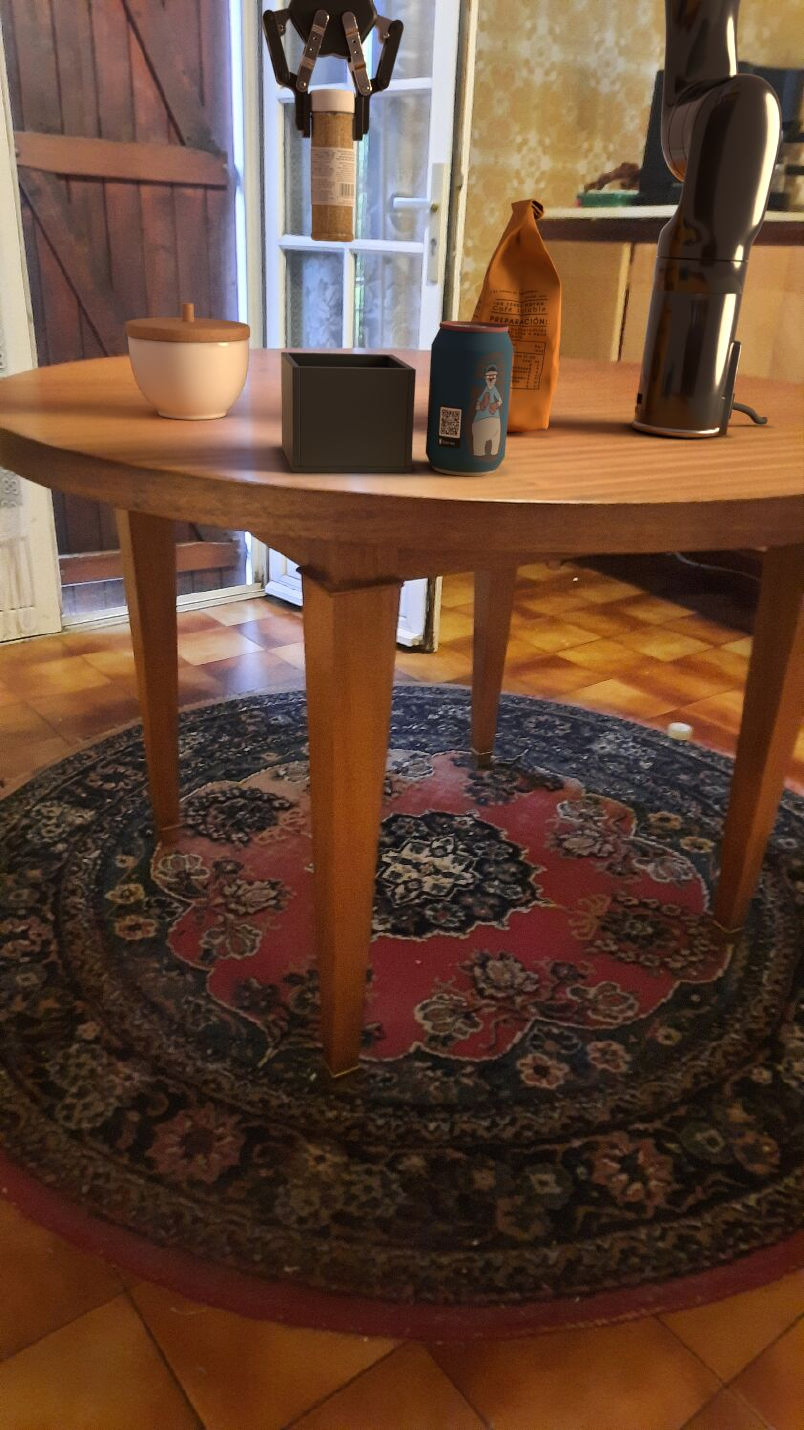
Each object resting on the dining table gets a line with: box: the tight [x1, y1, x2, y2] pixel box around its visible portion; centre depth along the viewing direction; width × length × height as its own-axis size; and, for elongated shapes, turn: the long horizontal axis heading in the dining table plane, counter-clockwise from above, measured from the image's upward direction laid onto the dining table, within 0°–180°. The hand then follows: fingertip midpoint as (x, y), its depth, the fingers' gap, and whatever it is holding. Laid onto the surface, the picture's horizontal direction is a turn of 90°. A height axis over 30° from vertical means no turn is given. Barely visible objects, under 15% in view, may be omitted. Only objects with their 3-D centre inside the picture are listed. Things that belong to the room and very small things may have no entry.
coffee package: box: [470, 197, 562, 433], centre depth 105 cm, size 10×12×22 cm
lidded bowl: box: [124, 302, 251, 421], centre depth 106 cm, size 13×13×11 cm
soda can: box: [425, 320, 514, 477], centre depth 87 cm, size 7×7×12 cm
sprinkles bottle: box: [308, 88, 356, 243], centre depth 103 cm, size 5×5×14 cm
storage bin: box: [280, 351, 417, 474], centre depth 89 cm, size 10×10×8 cm
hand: (332, 138), depth 102 cm, fingers closed on sprinkles bottle, 4 cm apart
